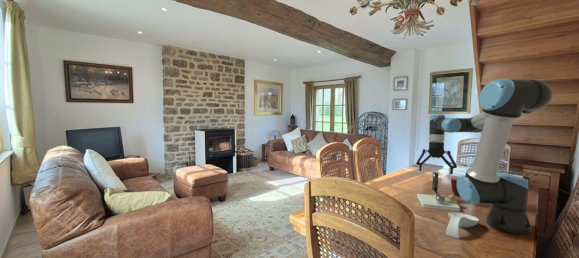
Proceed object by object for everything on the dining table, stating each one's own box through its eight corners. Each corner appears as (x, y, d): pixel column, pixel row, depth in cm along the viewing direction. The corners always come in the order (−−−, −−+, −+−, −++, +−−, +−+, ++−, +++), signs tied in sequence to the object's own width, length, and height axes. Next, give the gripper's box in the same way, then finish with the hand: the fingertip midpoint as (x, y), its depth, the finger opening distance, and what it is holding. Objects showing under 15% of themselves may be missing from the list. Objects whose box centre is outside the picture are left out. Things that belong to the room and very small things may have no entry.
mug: (472, 196, 153) (473, 180, 152) (469, 199, 147) (470, 182, 147) (452, 192, 161) (453, 177, 160) (448, 195, 155) (449, 179, 154)
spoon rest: (451, 217, 123) (451, 202, 122) (481, 224, 114) (482, 209, 114) (436, 233, 106) (437, 216, 105) (470, 243, 98) (471, 225, 97)
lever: (445, 201, 132) (446, 179, 131) (436, 200, 133) (437, 178, 132) (438, 192, 147) (439, 172, 147) (430, 191, 149) (431, 172, 148)
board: (460, 211, 129) (460, 199, 129) (423, 207, 134) (423, 195, 134) (449, 200, 146) (450, 189, 146) (417, 196, 151) (417, 186, 151)
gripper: (462, 142, 141) (461, 179, 142) (413, 140, 155) (412, 174, 156) (463, 143, 135) (461, 182, 136) (411, 140, 148) (410, 176, 149)
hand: (435, 178), depth 146 cm, fingers open, 13 cm apart
